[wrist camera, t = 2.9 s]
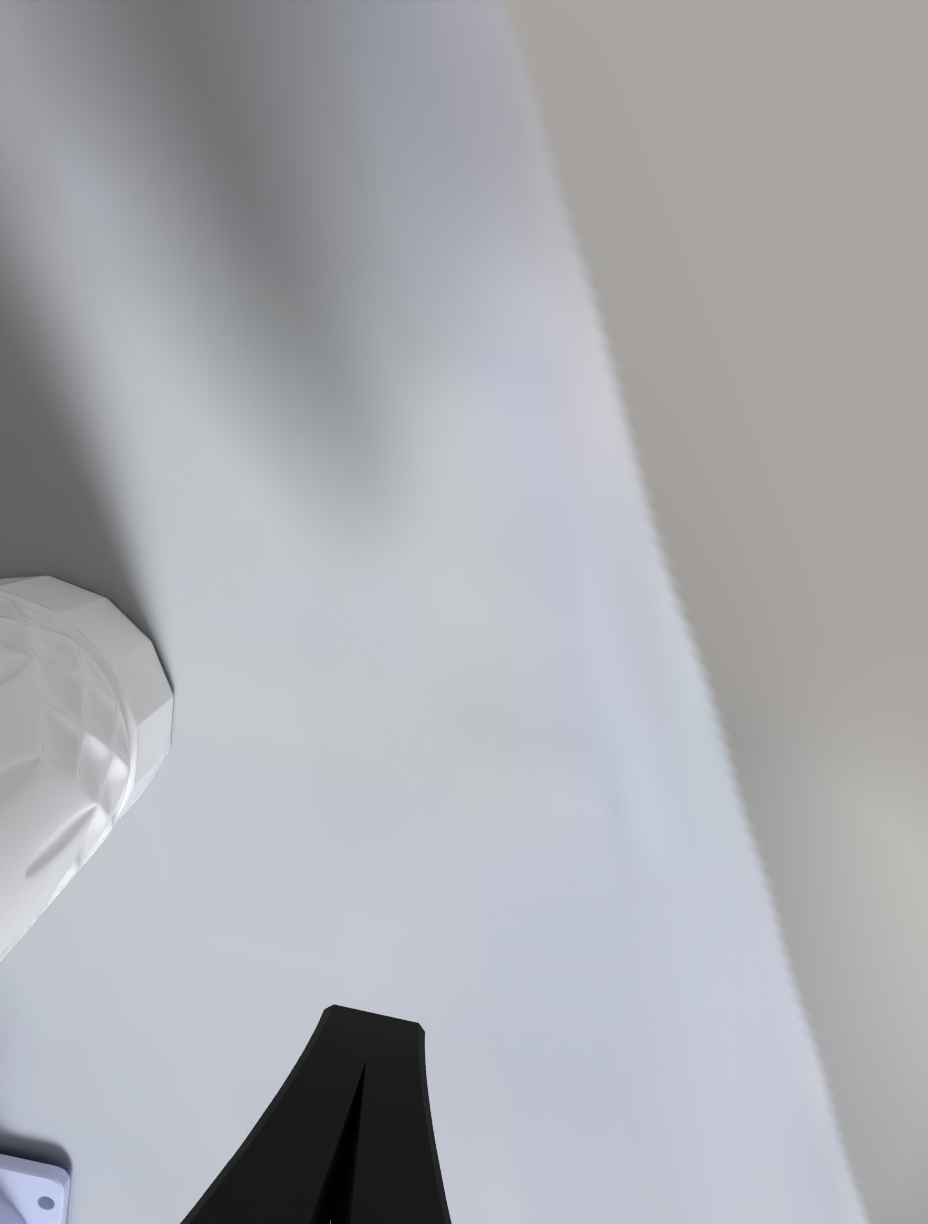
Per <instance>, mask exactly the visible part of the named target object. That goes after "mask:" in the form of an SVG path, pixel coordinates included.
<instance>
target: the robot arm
mask: <svg viewBox="0 0 928 1224" xmlns="http://www.w3.org/2000/svg"><path fill="white" fill-rule="evenodd" d="M69 1189H70V1177H69V1175H68V1173H67V1172H66V1171H65V1170H64V1169H62V1168H61V1167H58V1166H54V1165H50V1164H45V1163H41V1162H36V1161H31V1160H27V1159H22V1158H18V1157H13V1156H8V1155H4V1154H0V1224H66V1217H67V1208H68V1198H69ZM330 1220H331V1223H330ZM180 1224H451V1219H450V1215H449V1210H448V1206H447V1201H446V1196H445V1191H444V1186H443V1181H442V1176H441V1170H440V1165H439V1160H438V1155H437V1149H436V1144H435V1138H434V1132H433V1125H432V1118H431V1111H430V1103H429V1096H428V1087H427V1077H426V1065H425V1031H424V1030H423V1028H422V1027H421V1025H420V1024H419V1023H416V1022H411V1021H407V1020H402V1019H398V1018H393V1017H389V1016H384V1015H380V1014H375V1013H370V1012H366V1011H361V1010H357V1009H352V1008H348V1007H343V1006H339V1005H332V1006H330V1007H328V1008H326V1009H324V1011H323V1014H322V1016H321V1018H320V1021H319V1023H318V1025H317V1027H316V1029H315V1031H314V1033H313V1035H312V1037H311V1038H310V1040H309V1042H308V1044H307V1046H306V1048H305V1049H304V1051H303V1053H302V1055H301V1056H300V1058H299V1060H298V1061H297V1063H296V1065H295V1066H294V1068H293V1069H292V1071H291V1073H290V1074H289V1076H288V1077H287V1079H286V1081H285V1082H284V1084H283V1085H282V1087H281V1088H280V1090H279V1091H278V1093H277V1094H276V1096H275V1097H274V1099H273V1100H272V1102H271V1103H270V1105H269V1106H268V1107H267V1109H266V1110H265V1112H264V1113H263V1115H262V1116H261V1118H260V1119H259V1121H258V1122H257V1123H256V1125H255V1126H254V1128H253V1129H252V1131H251V1132H250V1134H249V1135H248V1136H247V1138H246V1139H245V1141H244V1142H243V1143H242V1145H241V1146H240V1148H239V1149H238V1150H237V1152H236V1153H235V1154H234V1156H233V1157H232V1158H231V1159H230V1161H229V1162H228V1163H227V1165H226V1166H225V1167H224V1168H223V1170H222V1171H221V1172H220V1174H219V1175H218V1176H217V1178H216V1179H215V1180H214V1181H213V1183H212V1184H211V1185H210V1187H209V1188H208V1189H207V1190H206V1192H205V1193H204V1194H203V1196H202V1197H201V1198H200V1200H199V1201H198V1202H197V1203H196V1205H195V1206H194V1207H193V1209H192V1210H191V1211H190V1212H189V1214H188V1215H187V1216H186V1217H185V1218H184V1220H183V1221H182V1222H181V1223H180Z"/></svg>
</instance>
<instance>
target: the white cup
mask: <svg viewBox="0 0 928 1224" xmlns="http://www.w3.org/2000/svg"><path fill="white" fill-rule="evenodd" d="M173 698H174V696H173V693H172V690H171V688H170V685H169V683H168V681H167V678H166V676H165V673H164V671H163V668H162V666H161V663H160V661H159V658H158V656H157V654H156V651H155V649H154V646H153V644H152V642H151V640H150V639H149V638H148V637H147V636H146V635H144V634H143V633H142V632H141V631H140V630H139V629H138V628H137V627H136V626H135V625H134V624H133V623H132V622H131V621H130V620H129V619H128V618H127V617H126V616H125V615H124V614H123V613H122V612H121V611H120V610H119V609H118V608H117V607H116V606H115V605H114V604H113V603H112V602H111V601H110V600H109V599H107V598H105V597H103V596H100V595H98V594H95V593H93V592H90V591H88V590H85V589H83V588H80V587H77V586H75V585H72V584H70V583H67V582H65V581H62V580H60V579H57V578H54V577H52V576H32V577H16V578H0V961H1V960H2V959H3V958H4V957H5V956H6V955H7V954H8V953H9V952H10V950H11V949H12V948H13V947H14V946H15V945H16V944H17V943H18V942H19V940H20V939H21V938H22V937H23V936H24V935H25V934H26V932H27V931H28V930H29V929H30V928H31V927H32V926H33V924H34V923H35V922H36V920H37V919H38V917H39V916H40V915H41V914H42V913H43V912H44V910H45V909H46V908H47V907H48V906H49V905H50V904H51V902H52V901H53V900H54V899H55V898H56V897H57V896H58V894H59V893H60V892H61V891H62V890H63V888H64V887H65V886H66V885H67V884H68V882H69V881H70V880H71V879H72V877H73V876H74V875H75V874H76V873H77V872H78V871H79V870H80V868H81V867H82V866H83V865H84V864H85V863H86V862H87V861H88V859H89V858H90V857H91V856H92V855H93V854H94V852H95V851H96V850H97V849H98V848H99V846H100V845H101V844H102V843H103V841H104V840H105V839H106V837H107V836H108V835H109V833H110V832H111V830H112V828H113V825H114V824H115V823H116V822H117V821H118V820H119V819H120V818H121V817H122V815H123V814H124V813H125V812H126V811H127V810H128V809H129V808H130V807H131V806H132V805H133V804H134V803H135V802H136V800H137V799H138V798H139V797H140V796H141V795H142V793H143V792H144V790H145V789H146V787H147V786H148V784H149V783H150V781H151V779H152V778H153V776H154V775H155V773H156V771H157V770H158V768H159V767H160V765H161V764H162V762H163V760H164V759H165V757H166V756H167V754H168V753H169V751H170V744H171V729H172V714H173Z"/></svg>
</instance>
